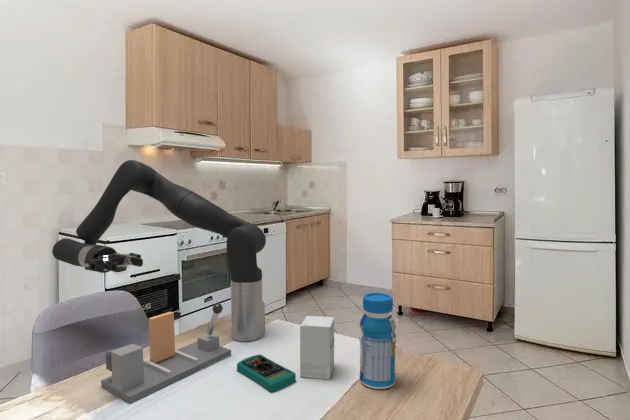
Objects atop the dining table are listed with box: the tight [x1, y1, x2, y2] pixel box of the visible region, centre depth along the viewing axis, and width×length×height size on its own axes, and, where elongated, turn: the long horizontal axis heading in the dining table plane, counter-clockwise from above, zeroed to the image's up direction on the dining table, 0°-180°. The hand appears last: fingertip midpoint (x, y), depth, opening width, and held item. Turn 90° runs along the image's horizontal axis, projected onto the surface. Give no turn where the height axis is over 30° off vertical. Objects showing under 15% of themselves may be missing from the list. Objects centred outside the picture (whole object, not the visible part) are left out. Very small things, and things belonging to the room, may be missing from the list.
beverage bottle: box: [358, 292, 397, 390], centre depth 90 cm, size 8×8×20 cm
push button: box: [105, 351, 112, 372], centre depth 89 cm, size 4×2×4 cm, turn 144°
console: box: [100, 333, 232, 405], centre depth 97 cm, size 28×12×10 cm, turn 144°
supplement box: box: [299, 315, 335, 380], centre depth 95 cm, size 7×7×13 cm
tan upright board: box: [148, 311, 176, 363], centre depth 98 cm, size 6×2×11 cm, turn 144°
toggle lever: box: [206, 303, 224, 335], centre depth 104 cm, size 3×3×10 cm
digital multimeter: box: [236, 354, 297, 393], centre depth 94 cm, size 7×15×3 cm, turn 43°
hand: (128, 264), depth 105 cm, fingers open, 6 cm apart
